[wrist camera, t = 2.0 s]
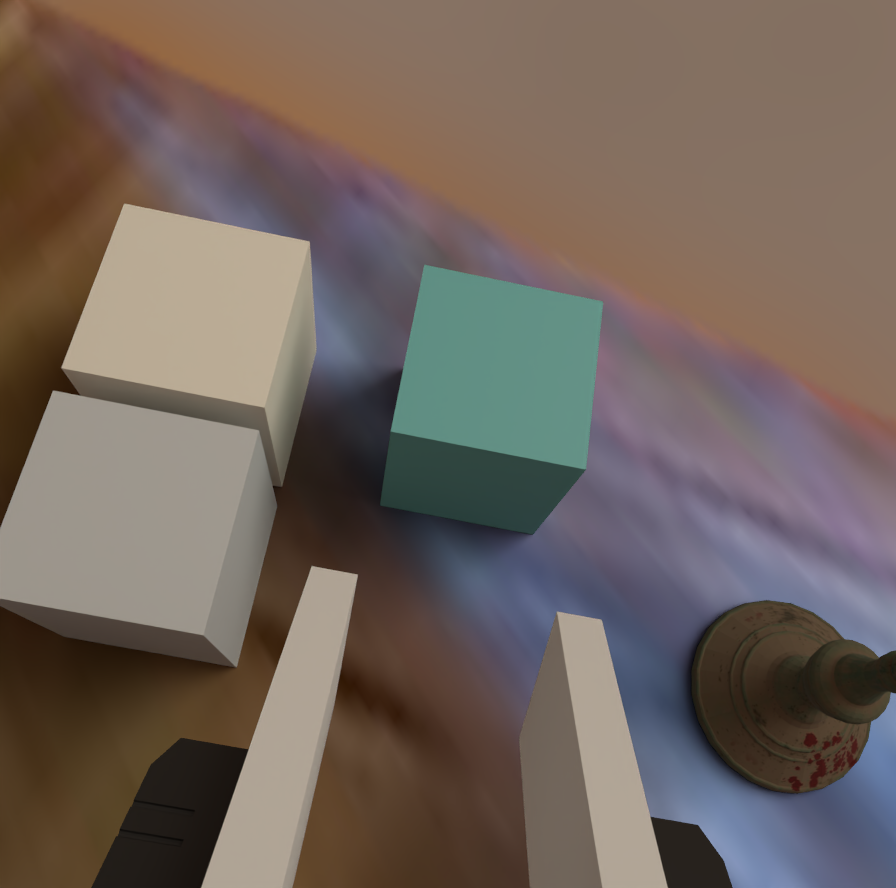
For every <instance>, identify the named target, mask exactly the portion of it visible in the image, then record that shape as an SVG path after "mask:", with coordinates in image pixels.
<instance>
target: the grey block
mask: <svg viewBox="0 0 896 888" xmlns="http://www.w3.org/2000/svg"><path fill="white" fill-rule="evenodd" d="M276 509H277V502H276V498H275V494H274V490H273V486H272V482H271V478H270V474H269V469H268V465H267V461H266V457H265V453H264V449H263V445H262V441H261V437H260V432H259V430H254V429H249V428H244V427H239V426H234V425H229V424H223V423H218V422H213V421H208V420H203V419H198V418H193V417H187V416H182V415H177V414H172V413H167V412H162V411H156V410H151V409H146V408H141V407H136V406H131V405H125V404H120V403H115V402H110V401H105V400H100V399H94V398H89V397H84V396H79V395H74V394H69V393H63V392H58V391H53V392H52V395H51V397H50V400H49V402H48V405H47V408H46V410H45V413H44V415H43V418H42V421H41V423H40V426H39V429H38V431H37V434H36V436H35V439H34V442H33V444H32V447H31V449H30V452H29V455H28V457H27V460H26V462H25V465H24V468H23V470H22V473H21V475H20V478H19V481H18V483H17V486H16V488H15V491H14V494H13V496H12V499H11V501H10V504H9V507H8V509H7V512H6V514H5V517H4V520H3V522H2V525H1V527H0V606H1V607H3V608H5V609H7V610H9V611H11V612H13V613H16V614H18V615H20V616H22V617H24V618H26V619H28V620H30V621H32V622H34V623H36V624H38V625H41V626H43V627H45V628H47V629H49V630H51V631H53V632H55V633H57V634H59V635H61V636H63V637H68V638H74V639H79V640H85V641H91V642H96V643H102V644H107V645H113V646H119V647H124V648H130V649H135V650H141V651H147V652H152V653H158V654H163V655H169V656H175V657H180V658H186V659H191V660H197V661H203V662H208V663H214V664H219V665H225V666H231V667H236V668H237V664H238V660H239V656H240V652H241V648H242V644H243V640H244V636H245V632H246V628H247V624H248V620H249V616H250V612H251V608H252V604H253V601H254V597H255V593H256V589H257V585H258V581H259V577H260V573H261V569H262V565H263V561H264V557H265V553H266V549H267V545H268V541H269V537H270V533H271V529H272V525H273V521H274V517H275V513H276Z"/></svg>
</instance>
